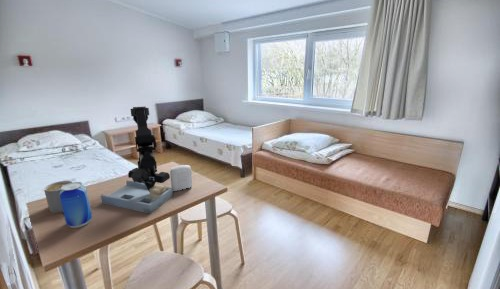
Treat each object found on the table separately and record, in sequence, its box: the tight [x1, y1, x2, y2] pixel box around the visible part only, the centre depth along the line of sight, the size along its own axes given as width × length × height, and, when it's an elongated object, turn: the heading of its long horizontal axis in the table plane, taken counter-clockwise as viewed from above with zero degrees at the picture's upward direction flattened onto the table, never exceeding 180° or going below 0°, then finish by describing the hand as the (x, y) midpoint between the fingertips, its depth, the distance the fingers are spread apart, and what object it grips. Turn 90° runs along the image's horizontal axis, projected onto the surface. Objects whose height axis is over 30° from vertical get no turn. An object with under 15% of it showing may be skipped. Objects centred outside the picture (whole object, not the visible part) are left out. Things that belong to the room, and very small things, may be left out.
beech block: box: [149, 184, 167, 198], centre depth 115 cm, size 5×5×4 cm
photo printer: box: [169, 164, 193, 192], centre depth 125 cm, size 10×4×12 cm, turn 116°
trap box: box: [100, 180, 174, 214], centre depth 116 cm, size 16×26×4 cm, turn 72°
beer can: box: [59, 181, 93, 229], centre depth 97 cm, size 8×8×16 cm
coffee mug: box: [43, 180, 73, 214], centre depth 108 cm, size 13×10×10 cm
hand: (150, 191), depth 117 cm, fingers closed
